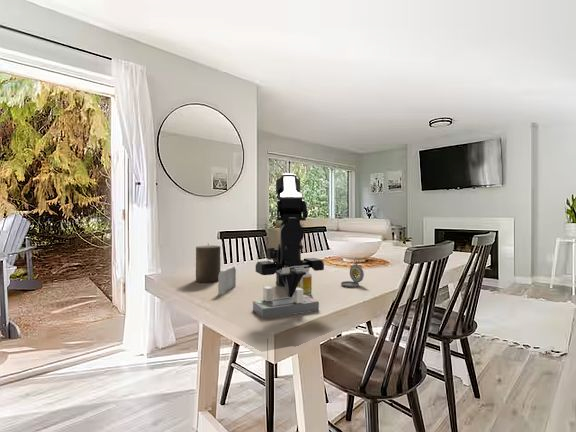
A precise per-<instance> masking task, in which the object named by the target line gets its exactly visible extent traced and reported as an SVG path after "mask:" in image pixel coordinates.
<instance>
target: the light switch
mask: <svg viewBox="0 0 576 432" xmlns="http://www.w3.org/2000/svg"><path fill="white" fill-rule="evenodd" d="M236 272H237V269H236V266H234V265H232V266H231V265H230V266H228V267H225V268H223V269H220V272H219V275H218V281H217V283H218V286H217V287H218V289H217V291H218V295H220V296H224V295H225V293H226V292H228V291H229V290H231V289H232V288H233V289H234V288H235V287H236V286H237V285H236V284H237V283H236V282H237V280H236V277H237V276H236V275H237V274H236Z"/></svg>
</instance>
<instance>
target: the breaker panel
mask: <svg viewBox="0 0 576 432" xmlns="http://www.w3.org/2000/svg"><path fill="white" fill-rule="evenodd" d="M252 310H253V312H255V313H256V314H257V315H258V316H259V317H260V318H261V319H270V318H276V317H282V316H283V317H284V316H289V315H290V314H291V315H296V314H295V313H297V314H302V313H301V312H304V313H310V312H309V311H311V312H316V311H315V310H318V311H319V310H320V302H319V301H318V300H316V299H315V298H312V297H311V296H307V295H303V303H295V302H294V301H293V296H292V297H289V296H285V297H278V298H273V301H268V302H266V301H265V300H264V299H261V300H253V301H252Z"/></svg>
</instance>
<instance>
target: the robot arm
mask: <svg viewBox="0 0 576 432" xmlns="http://www.w3.org/2000/svg"><path fill="white" fill-rule="evenodd" d="M275 195H277V200H276V220H277V221H281V223H280V230H279V231H280V235H279V236H280V239H279V243H278V246H277V249H276V248H275V247H268V248H267V249H266V259H267V260H264V261H262V260H261V261H257V263H256V264H255V272H256V273H257V274H260V275H261V276H271V275H275V274H276V275H275V276H276V278H275V279H276V281H275V284H277V285H278V286H281V287H285V291H286V293H287V297H292V296H293V294H294V292H295V290H296V288H297V285H298V283H299V282H300V280H301V278H302V277H303V275H306V272H304V268H311V269H313V271H314V272H317V271H324V270H325V263H324V261H323V260H322V259H319V258H316V257H305V258H303V259H301V258H302V256H301V255H302V250H303V249H304V245H303V244H302V241H303V239H304V236H305V230H304V227H302V224H301V221H302V222H304V221H306V220H307V218H308V215H309V214H308V204H307V203H306V200H305V199H303V195H302V193H301V180H300V179H299V178H298V177H297V174H295V173H283V174H281V176H280V177H279V178H277V179H276V180H275Z"/></svg>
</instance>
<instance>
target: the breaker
mask: <svg viewBox="0 0 576 432" xmlns="http://www.w3.org/2000/svg"><path fill="white" fill-rule="evenodd" d="M273 299H274V288H273V287H271V286H270V285H266V286H262V300H265V301H266V302H268V301H273Z"/></svg>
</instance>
